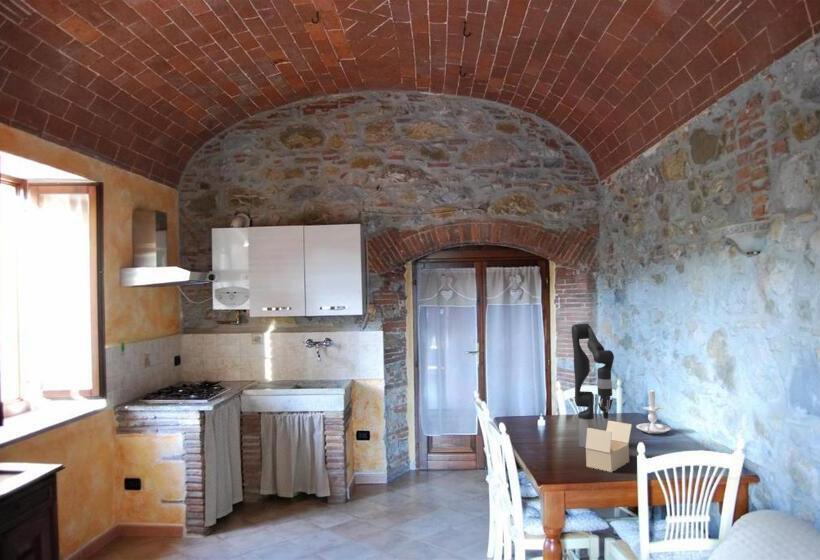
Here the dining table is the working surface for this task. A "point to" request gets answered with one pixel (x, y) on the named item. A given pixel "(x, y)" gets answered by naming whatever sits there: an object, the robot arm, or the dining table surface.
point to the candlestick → (652, 418)
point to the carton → (608, 457)
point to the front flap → (598, 440)
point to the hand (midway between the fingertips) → (606, 418)
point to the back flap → (619, 431)
